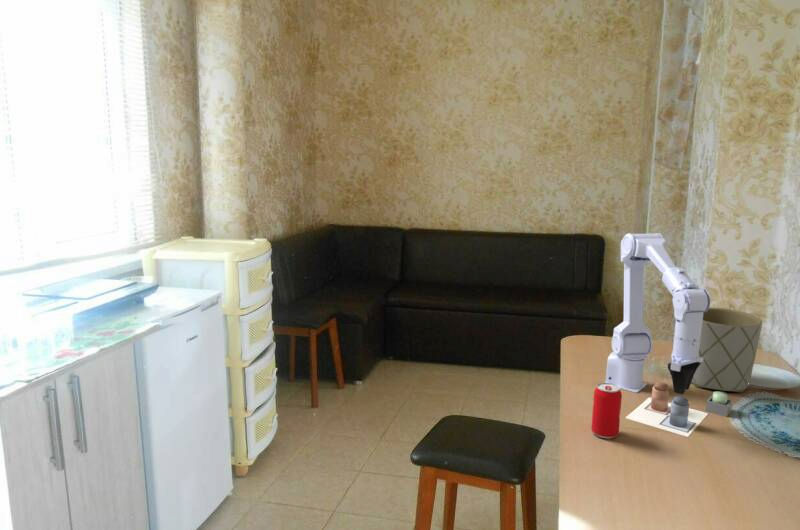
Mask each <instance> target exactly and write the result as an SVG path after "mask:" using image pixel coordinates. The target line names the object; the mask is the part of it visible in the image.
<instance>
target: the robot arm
mask: <svg viewBox="0 0 800 530" xmlns="http://www.w3.org/2000/svg"><path fill="white" fill-rule="evenodd" d="M620 262H621V263H623V321H622V322H621V323H619V324H618V325H617V326H615V327H614V328H613V335H612V338H611V349H612V352H610V354H609V355H608V358H607V362H606V372H605V373H606V374H605V381H604V383H612V384H615V385H617V386H619V387H620V390H624V391H629V392H632V393H636V394H637V393H639V392H641V390H642V389H644V388H645V387H646V386H647V385H648V383H647V382H644V381H643V376H644V366H645V359H648V355H650V354H651V353H652V352H653V351H652V350H653V349H654V340H653V337H652V330H651V328H649V327H648V326H647V325H646V324H645V323H644V271H645V270H644V269H645V266H647V264H648V263H653V265H654V266H655V267H656V268H657V269H658V270H659V271H660V273H662V278H661V281H662V284H663V285H664V286H665V287H666V289H667V291H668V292H669V294H670V295H671V296H672V307H673V309H674V310H673V311H674V312H673V313H674V314H673V316H674V319H675V327H674V336H673V344H672V345H673V348H672V352H671V362H668V364H667V369H668V371H669V374H670V376H671V380H672V387H673V392H674V393H675V394H680V395H684V394H685V392H686V391H688V390H689V389H690V387H691V385H692V382H691V381H692V379H693V376H694V374H695V372H696V370H697V368H698V367H699V365H700V364H701V362H703V360H704V358H702V357H699V347H700V339H701V330H702V321H703V312H706V311H708V309H709V307H711V297H710V296H711V295H710V294H709V292H708V290H707V289H706V288H704V287H700V286H699V285H696V284H695V283H694V281H693V280H692V279H691V277H690V276H689V275H688V273H687V271H686V270H685V268H682V267H681V266H680V267H679V266H676V265H675V263H674V261H673V260H672V258H671V257H670V254H669V253H668V251H667V241H666V239H665V238H664V235H663V234H661V233H660V232H655V233H626V234H625V235H624V236H623V238H622V239H621V241H620Z"/></svg>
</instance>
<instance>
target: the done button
mask: <svg viewBox="0 0 800 530" xmlns="http://www.w3.org/2000/svg"><path fill="white" fill-rule="evenodd" d="M712 392H713V393H712V395H713V398H712V402H715V403H719V404H722V405H727V399H729V398H728V396H729V395H728V393H727V392H724V391H719V390H716V391H712Z"/></svg>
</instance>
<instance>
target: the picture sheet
mask: <svg viewBox="0 0 800 530" xmlns="http://www.w3.org/2000/svg"><path fill="white" fill-rule="evenodd" d="M651 401H652V397H648V398H646V399H645V400H644V401H643V402H642V403H641V404H639V405H638V407H636V408H635V409H634V410H633V411H632V412H630V413H629V414H628V415H626V417H625V419H627V420H631V421H634V422H637V423H640V424H643V425H647V426H651V427H653V428H658V429H660V430H664V431H666V432H667V431H668V432H670V433H673V434H677V435H680V436H683V437H687V438H688V437H690V435H691V434H692V432H694V430H695V429H696V428H697V427H698V426H699V425H700V423H702V422H703V420H704V419H706V417H707V416H708V414H709V412H706V411H705V412H704V411H700V410H697V409H693V408H690V407H689V412H688V421H687V426H686V427H683V428H680V427H675V426H673V425H671V424H670V423H669V420H670V411H671V402H668V410H667V411H664V412H660V411H655V410H653V409H652V408H651Z"/></svg>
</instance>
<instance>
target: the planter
mask: <svg viewBox="0 0 800 530" xmlns="http://www.w3.org/2000/svg"><path fill="white" fill-rule="evenodd" d="M762 324H763V320H762V319H761V318H759V317H758V316H756V315H753V314H751V313H748V312H745V311H740V310H736V309H732V308H731V309H729V308H722V307H711V306H710V307H709V309H708V311H706V312H703V321H702V330H701V339H700V347H699V357H702V358H704V360H703V362H701V364H700V365H699V367H698V368H697V370H696V372H695V374H694V376H693V379H692V381H691V384H693V386H694V387H696V388H701V389H703V388H704V389H709V390H710V389H711V390H716V391H721V392H735V393H744V391H746V389H747V388H748V387H749V386H748V383H751V379H752V374H753V369H754V364H755V360H756V355H757V349H758V348H759V347H758V345H759V342H760V337H761V332H762V326H763V325H762Z"/></svg>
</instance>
